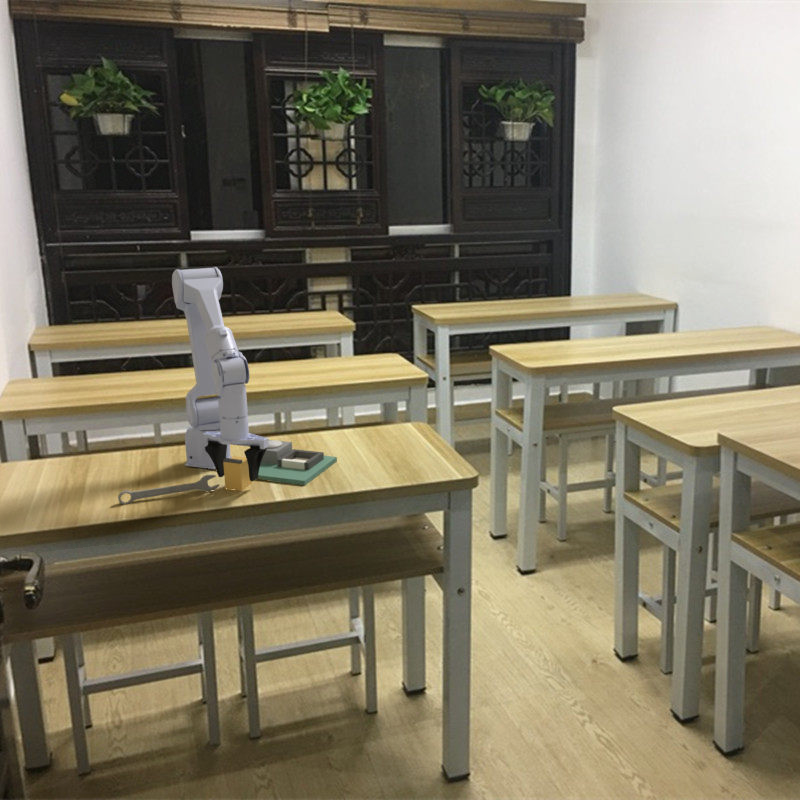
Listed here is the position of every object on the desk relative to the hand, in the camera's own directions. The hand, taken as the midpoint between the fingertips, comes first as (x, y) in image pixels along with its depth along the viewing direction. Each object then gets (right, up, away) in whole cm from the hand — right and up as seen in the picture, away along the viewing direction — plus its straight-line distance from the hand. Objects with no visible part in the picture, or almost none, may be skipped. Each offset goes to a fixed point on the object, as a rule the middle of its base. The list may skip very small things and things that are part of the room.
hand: (238, 477), depth 166 cm
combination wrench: (-13, -4, -4) cm, 14 cm away
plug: (0, -2, +1) cm, 2 cm away
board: (+8, +1, +11) cm, 14 cm away
